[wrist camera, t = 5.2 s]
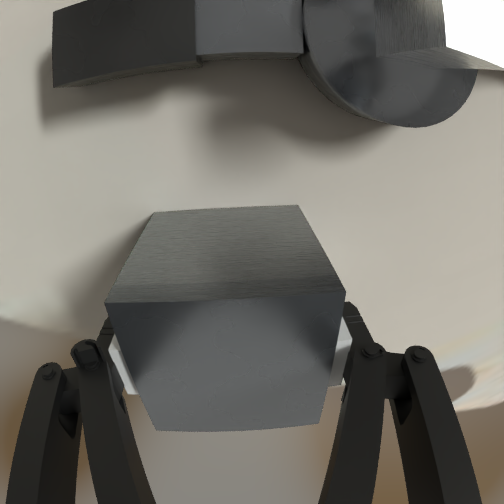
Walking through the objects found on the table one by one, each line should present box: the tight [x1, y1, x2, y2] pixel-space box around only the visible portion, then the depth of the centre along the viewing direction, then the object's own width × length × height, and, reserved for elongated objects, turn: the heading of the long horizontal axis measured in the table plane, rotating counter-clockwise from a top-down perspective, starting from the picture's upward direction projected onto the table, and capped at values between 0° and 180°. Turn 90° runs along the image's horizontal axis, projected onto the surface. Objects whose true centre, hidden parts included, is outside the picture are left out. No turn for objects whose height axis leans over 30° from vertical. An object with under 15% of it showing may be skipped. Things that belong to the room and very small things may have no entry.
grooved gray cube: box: [104, 205, 346, 432], centre depth 15 cm, size 8×8×8 cm
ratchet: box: [52, 0, 504, 128], centre depth 9 cm, size 20×9×8 cm, turn 91°
